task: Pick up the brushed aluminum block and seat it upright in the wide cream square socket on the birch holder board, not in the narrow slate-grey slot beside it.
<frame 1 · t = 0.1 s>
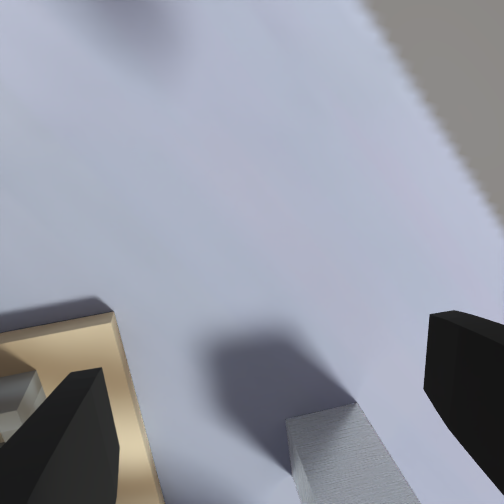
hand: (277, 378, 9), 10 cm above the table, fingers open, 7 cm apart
brushed aluminum block: (323, 439, 23), on the table
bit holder: (4, 485, 21), on the table
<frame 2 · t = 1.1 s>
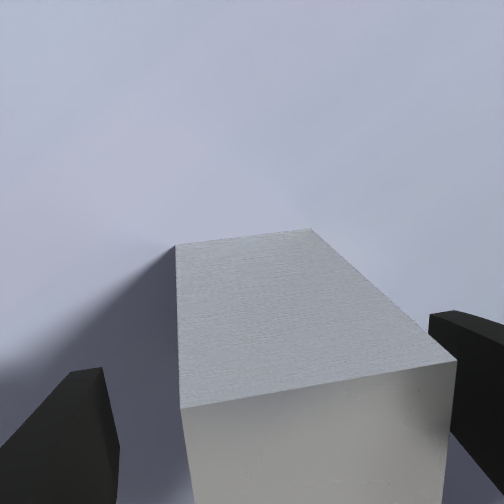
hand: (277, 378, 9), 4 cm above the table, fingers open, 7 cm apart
brushed aluminum block: (249, 298, 13), on the table
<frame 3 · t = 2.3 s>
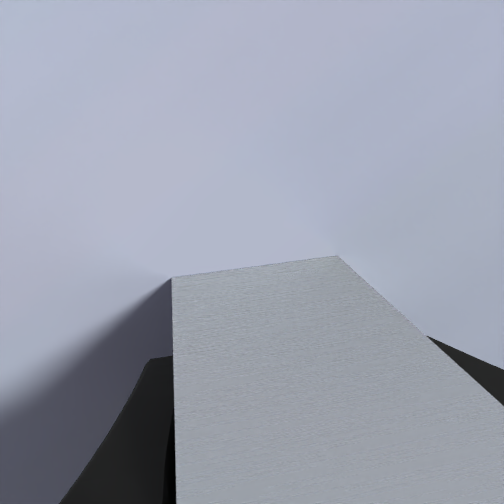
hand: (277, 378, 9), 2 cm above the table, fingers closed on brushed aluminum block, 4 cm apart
brushed aluminum block: (262, 339, 11), on the table, touching gripper
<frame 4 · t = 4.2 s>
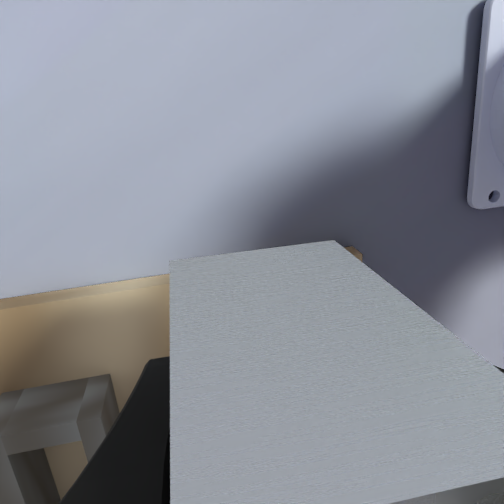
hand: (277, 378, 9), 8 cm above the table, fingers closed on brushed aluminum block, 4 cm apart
brushed aluminum block: (259, 324, 11), point 7 cm above the table, touching gripper
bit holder: (185, 416, 19), on the table
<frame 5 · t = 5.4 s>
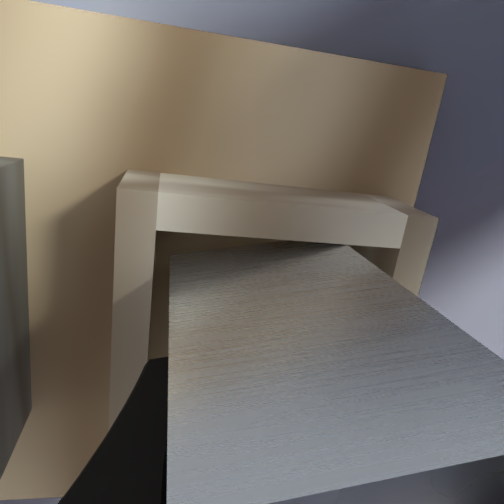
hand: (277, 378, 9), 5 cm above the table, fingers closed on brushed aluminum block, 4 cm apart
brushed aluminum block: (259, 319, 11), point 3 cm above the table, touching gripper
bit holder: (129, 285, 13), on the table
when the fingers open (4 cm above the table, at t = 6.3 s): brushed aluminum block drops 1 cm, resting on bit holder.
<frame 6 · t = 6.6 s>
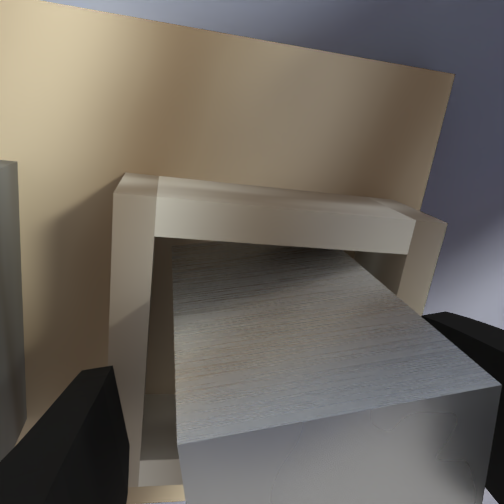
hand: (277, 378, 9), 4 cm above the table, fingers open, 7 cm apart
brushed aluminum block: (251, 304, 12), point 1 cm above the table, touching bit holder
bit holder: (127, 291, 12), on the table
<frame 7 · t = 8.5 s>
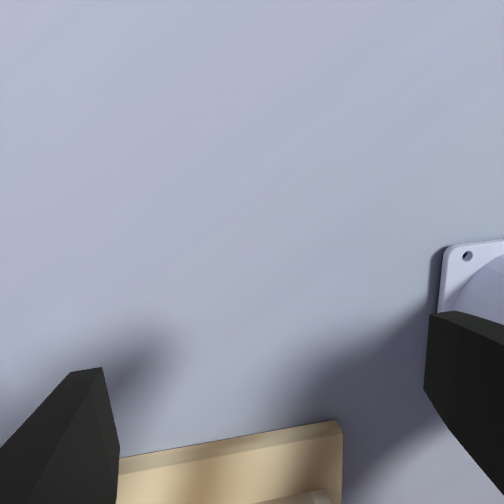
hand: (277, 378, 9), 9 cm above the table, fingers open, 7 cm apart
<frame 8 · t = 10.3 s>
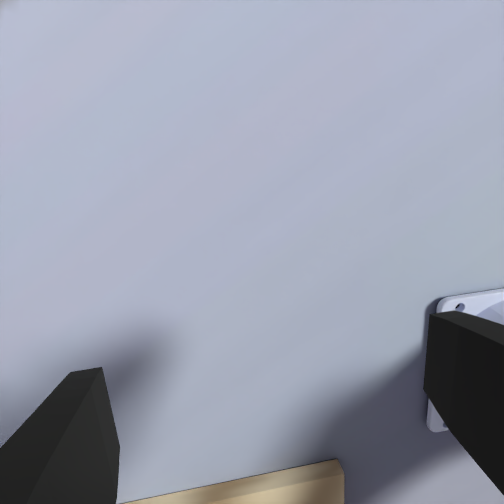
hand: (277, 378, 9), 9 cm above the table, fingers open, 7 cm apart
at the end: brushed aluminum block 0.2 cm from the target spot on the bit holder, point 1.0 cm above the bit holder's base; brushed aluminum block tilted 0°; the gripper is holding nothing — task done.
